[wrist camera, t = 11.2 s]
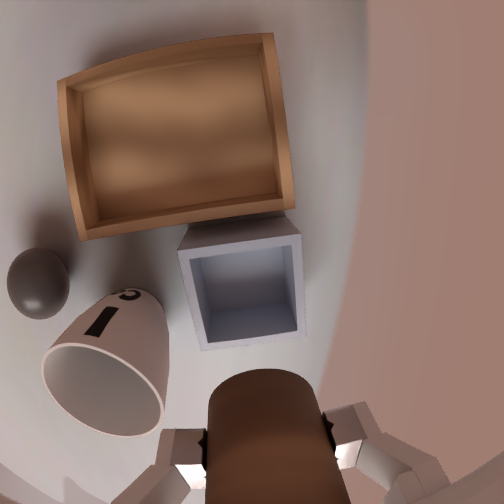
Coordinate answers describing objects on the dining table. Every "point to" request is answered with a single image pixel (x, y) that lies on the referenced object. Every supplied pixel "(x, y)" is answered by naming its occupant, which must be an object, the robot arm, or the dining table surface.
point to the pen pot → (244, 282)
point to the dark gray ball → (38, 283)
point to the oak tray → (176, 136)
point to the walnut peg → (269, 443)
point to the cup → (113, 365)
